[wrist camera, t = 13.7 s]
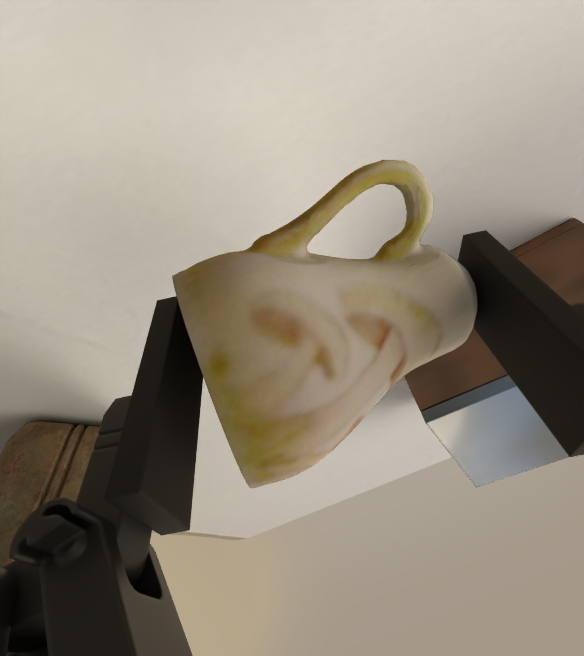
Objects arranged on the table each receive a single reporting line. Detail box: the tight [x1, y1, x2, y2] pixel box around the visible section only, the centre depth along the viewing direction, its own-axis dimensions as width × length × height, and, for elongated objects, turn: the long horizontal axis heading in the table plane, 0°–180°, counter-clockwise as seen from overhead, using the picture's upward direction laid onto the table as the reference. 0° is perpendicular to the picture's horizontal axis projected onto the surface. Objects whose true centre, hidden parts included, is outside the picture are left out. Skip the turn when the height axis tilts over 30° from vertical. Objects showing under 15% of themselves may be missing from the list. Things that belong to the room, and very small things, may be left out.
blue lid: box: [421, 375, 569, 487], centre depth 22 cm, size 15×14×1 cm
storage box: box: [404, 218, 584, 412], centre depth 25 cm, size 14×14×8 cm
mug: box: [172, 160, 478, 488], centre depth 11 cm, size 8×10×10 cm
